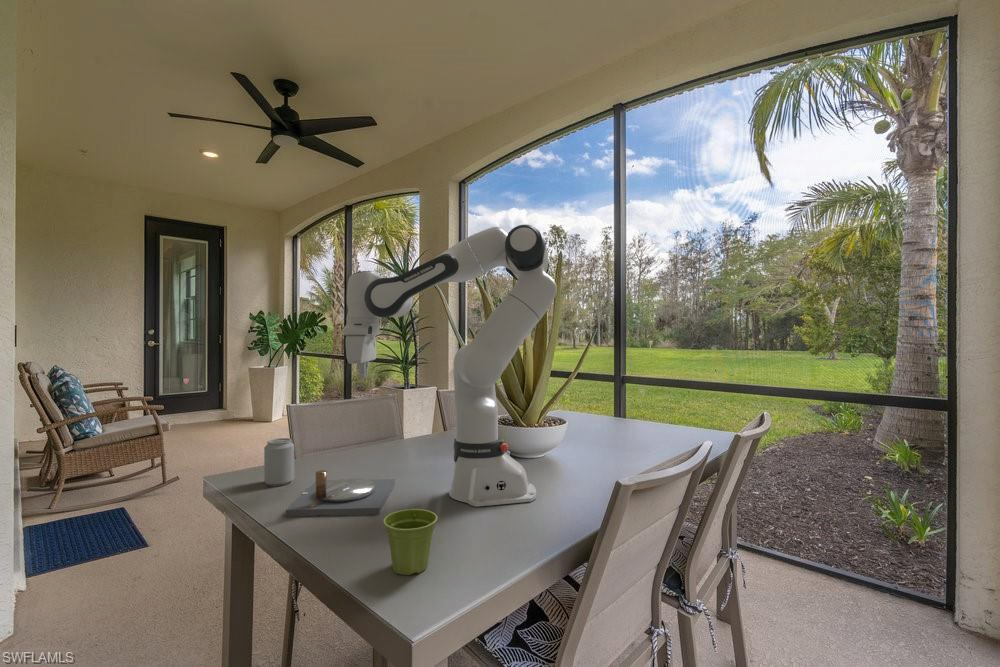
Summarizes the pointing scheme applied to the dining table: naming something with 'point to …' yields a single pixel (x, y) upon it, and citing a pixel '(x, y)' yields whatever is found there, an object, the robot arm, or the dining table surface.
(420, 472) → the dining table surface
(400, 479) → the dining table surface
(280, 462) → the can
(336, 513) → the dial plate
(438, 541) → the dining table surface
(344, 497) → the dial
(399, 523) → the plant pot
